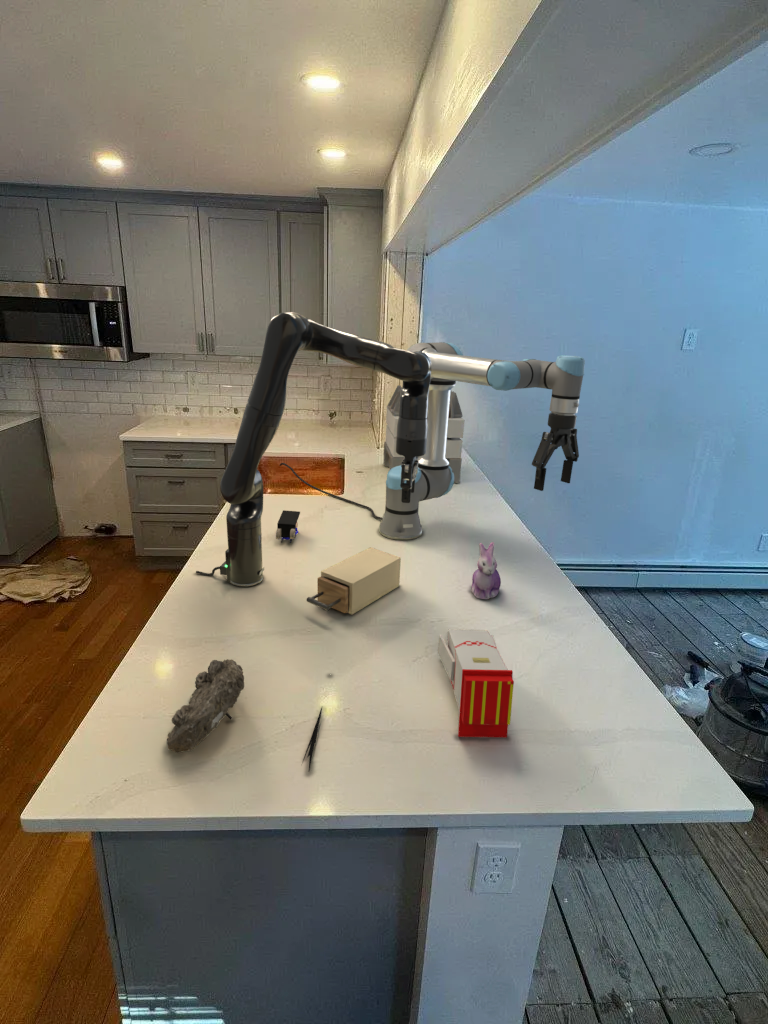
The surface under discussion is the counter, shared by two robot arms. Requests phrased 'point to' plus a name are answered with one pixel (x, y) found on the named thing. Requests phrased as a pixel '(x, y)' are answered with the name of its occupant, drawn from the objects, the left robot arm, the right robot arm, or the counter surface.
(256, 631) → the counter surface
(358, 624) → the counter surface
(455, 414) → the white slatted crate
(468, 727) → the toy
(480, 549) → the figurine
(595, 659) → the counter surface
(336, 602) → the drawer
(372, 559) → the cabinet
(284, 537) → the black wheeled vehicle
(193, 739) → the fossil
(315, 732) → the feather
